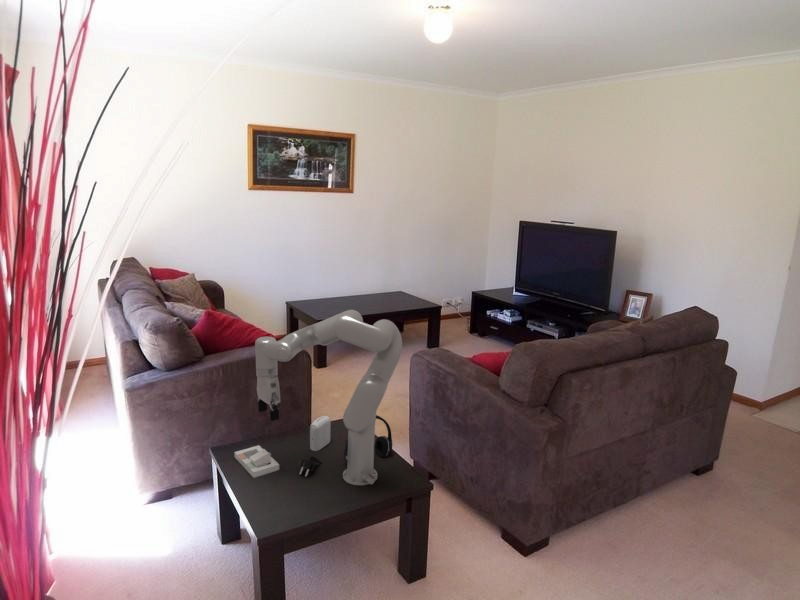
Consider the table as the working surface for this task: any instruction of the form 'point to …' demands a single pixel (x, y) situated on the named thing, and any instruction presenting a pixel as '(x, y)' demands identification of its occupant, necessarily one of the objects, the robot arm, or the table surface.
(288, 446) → the table surface
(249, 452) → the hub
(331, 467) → the table surface
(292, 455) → the table surface
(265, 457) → the plug
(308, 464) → the power plug
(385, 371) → the robot arm
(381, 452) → the headphones
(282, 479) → the table surface
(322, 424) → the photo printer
